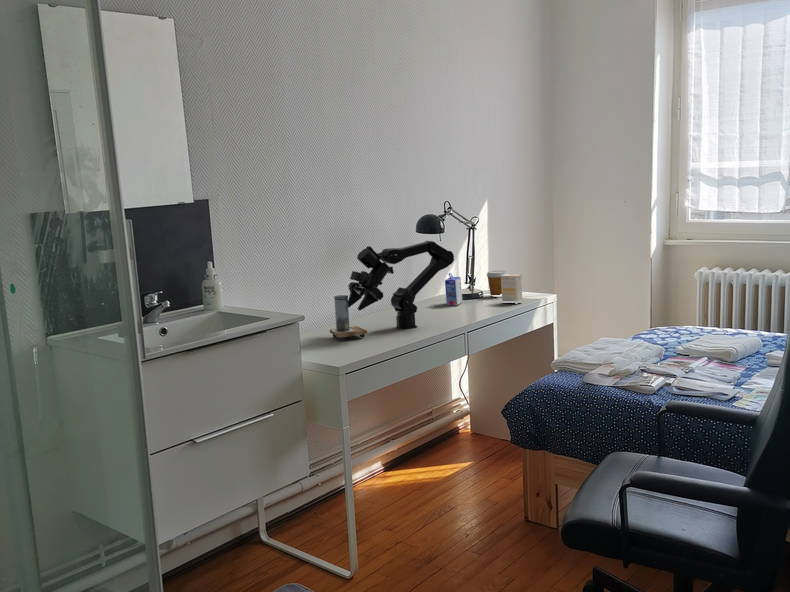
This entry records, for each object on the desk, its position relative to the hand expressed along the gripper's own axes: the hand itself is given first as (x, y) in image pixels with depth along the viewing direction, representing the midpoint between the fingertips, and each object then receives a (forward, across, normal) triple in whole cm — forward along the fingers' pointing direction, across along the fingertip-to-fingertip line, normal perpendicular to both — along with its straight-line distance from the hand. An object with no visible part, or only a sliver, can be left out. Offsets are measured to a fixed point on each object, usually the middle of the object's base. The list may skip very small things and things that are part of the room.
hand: (352, 308), depth 287 cm
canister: (+9, 0, +2) cm, 9 cm away
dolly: (+10, +1, +5) cm, 11 cm away
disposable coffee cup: (-58, -32, +75) cm, 99 cm away
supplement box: (-52, -11, +69) cm, 88 cm away
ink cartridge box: (-39, -30, +56) cm, 74 cm away
